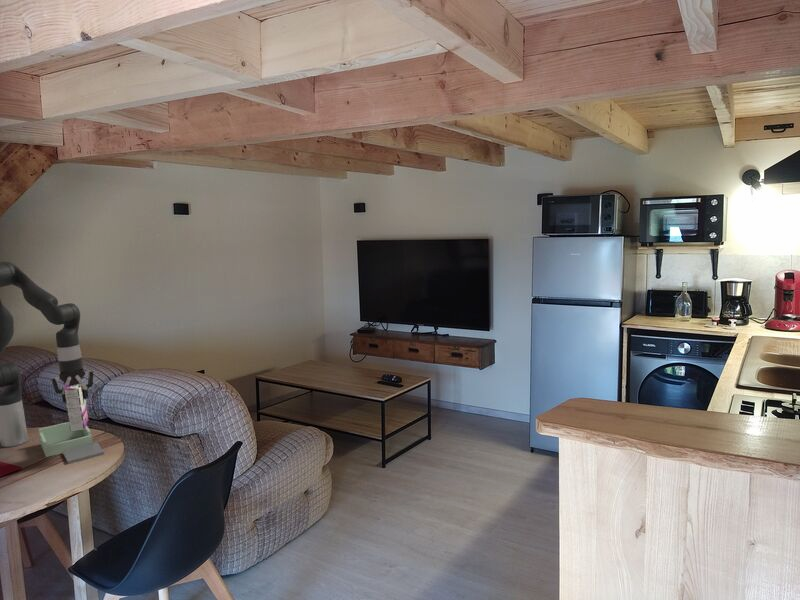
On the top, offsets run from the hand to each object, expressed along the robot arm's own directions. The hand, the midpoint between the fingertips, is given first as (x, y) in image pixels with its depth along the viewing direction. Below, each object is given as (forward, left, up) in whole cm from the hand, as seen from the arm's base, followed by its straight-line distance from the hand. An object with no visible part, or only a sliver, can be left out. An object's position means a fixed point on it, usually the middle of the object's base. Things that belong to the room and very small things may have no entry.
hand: (75, 400), depth 212 cm
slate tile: (0, 0, -21) cm, 21 cm away
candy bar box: (0, 0, -10) cm, 10 cm away
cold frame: (-14, -3, -21) cm, 26 cm away
